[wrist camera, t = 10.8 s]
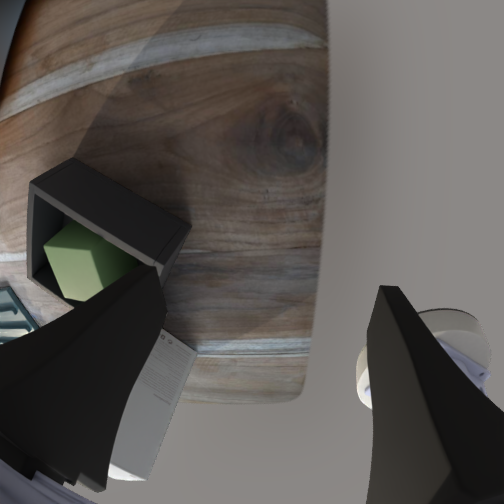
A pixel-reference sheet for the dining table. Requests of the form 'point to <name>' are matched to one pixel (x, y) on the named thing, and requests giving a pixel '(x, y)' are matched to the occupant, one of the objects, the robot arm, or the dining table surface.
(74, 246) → the block
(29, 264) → the dark grey open tray
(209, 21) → the dining table surface
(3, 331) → the drainboard
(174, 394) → the small box
